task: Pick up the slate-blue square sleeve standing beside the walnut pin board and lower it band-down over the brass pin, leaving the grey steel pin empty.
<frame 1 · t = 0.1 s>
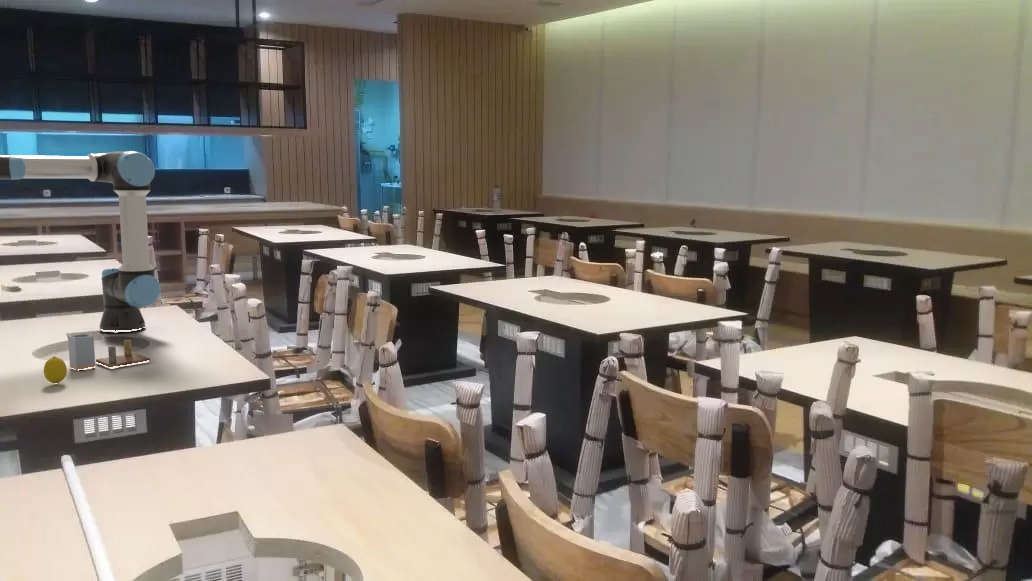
lemon: (56, 385, 225), on the table
pin board: (123, 363, 249), on the table
sleeve: (82, 368, 242), on the table
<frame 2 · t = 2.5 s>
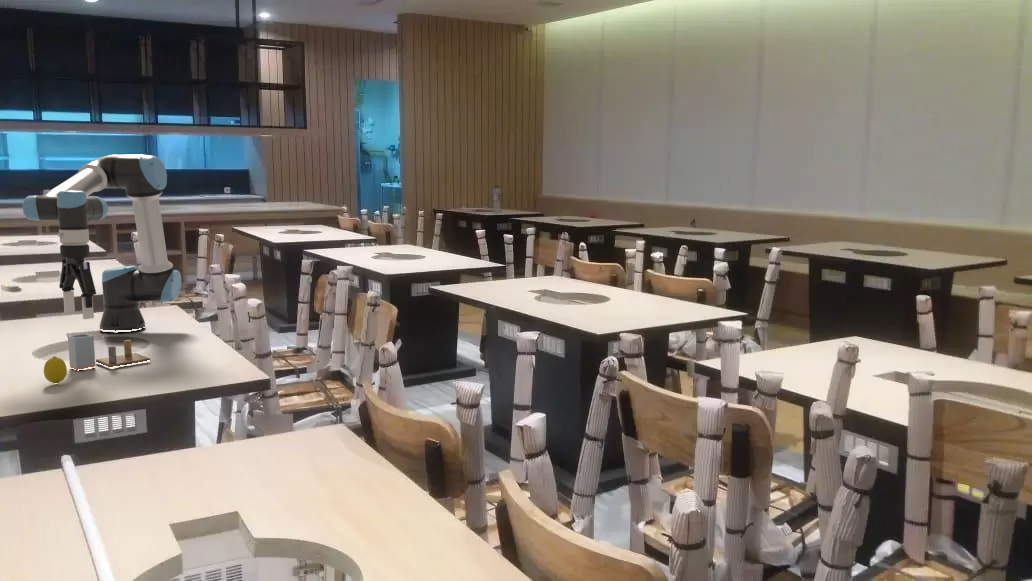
hand: (78, 315, 239), 16 cm above the table, tool pointing down, fingers open, 13 cm apart
nothing on the table moved.
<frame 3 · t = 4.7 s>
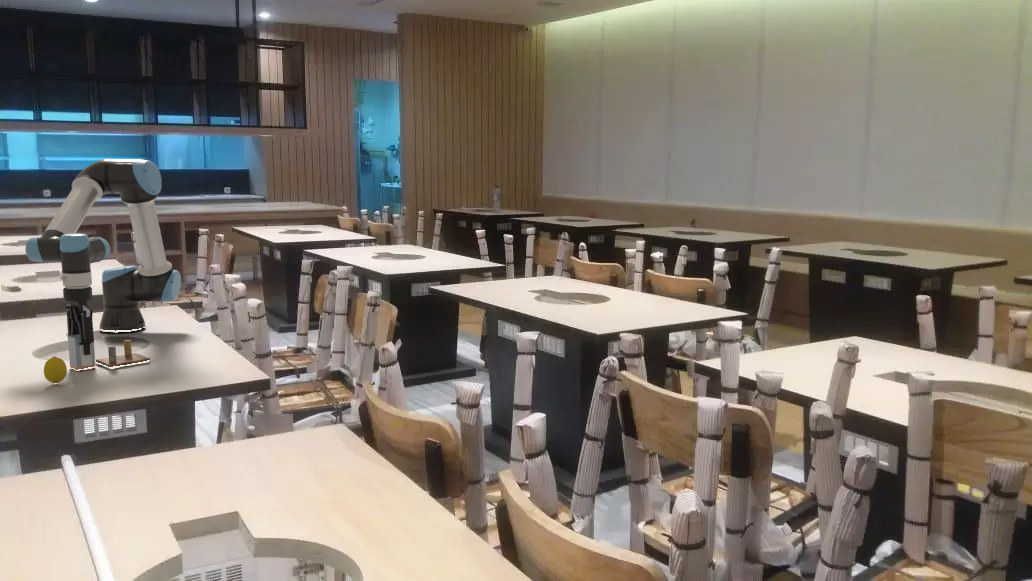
hand: (82, 363, 242), 2 cm above the table, tool pointing down, fingers closed on sleeve, 5 cm apart
sleeve: (82, 368, 242), on the table, touching gripper
everything else where it was.
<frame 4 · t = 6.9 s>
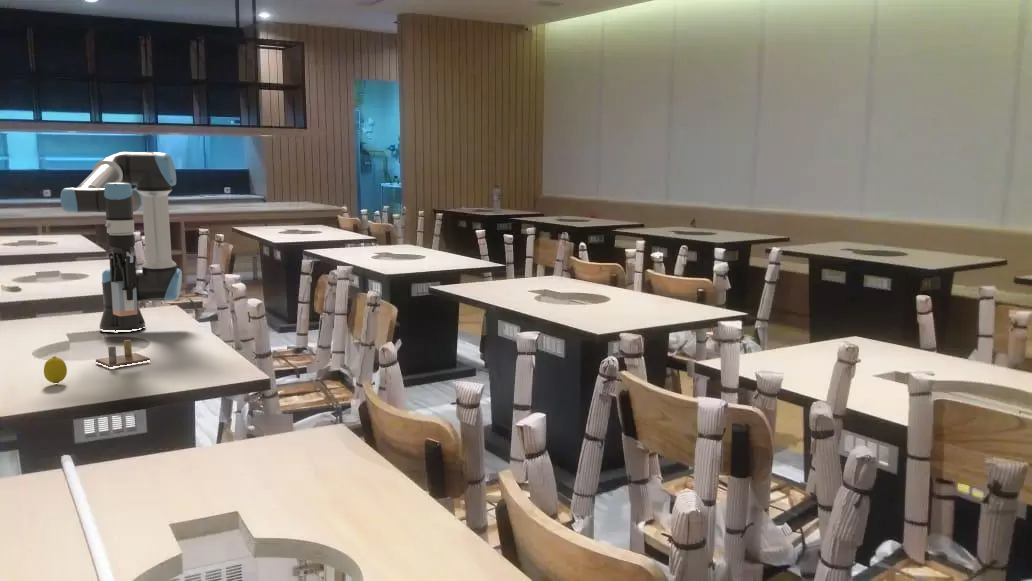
hand: (125, 309, 250), 16 cm above the table, tool pointing down, fingers closed on sleeve, 5 cm apart
sleeve: (125, 314, 250), point 15 cm above the table, touching gripper
everything else where it was.
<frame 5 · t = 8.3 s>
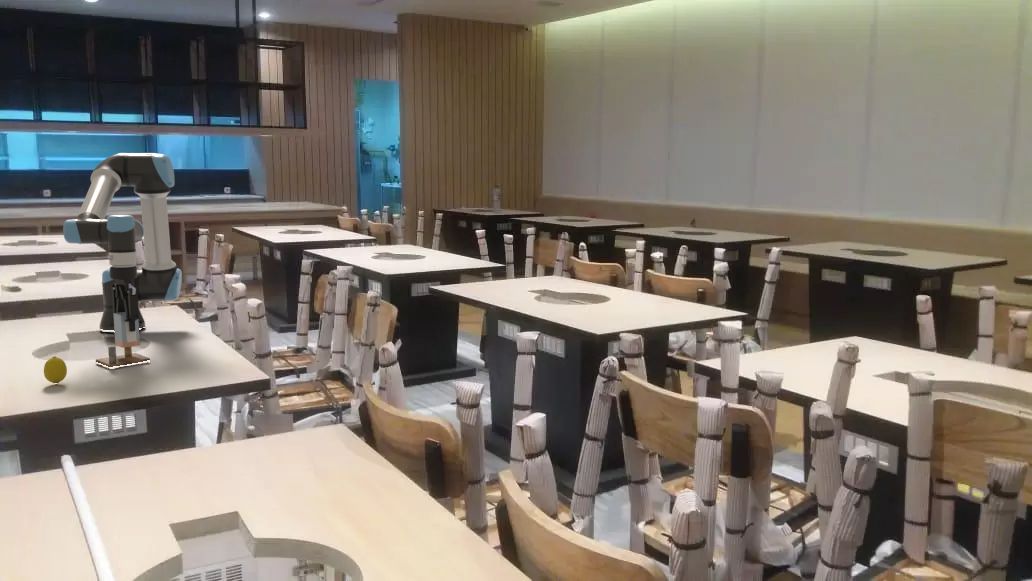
hand: (127, 340, 251), 7 cm above the table, tool pointing down, fingers closed on sleeve, 5 cm apart
sleeve: (127, 345, 251), point 5 cm above the table, touching gripper
everything else where it was.
when the fingers open (4 cm above the table, at t = 9.4 s): sleeve drops 1 cm, resting on pin board.
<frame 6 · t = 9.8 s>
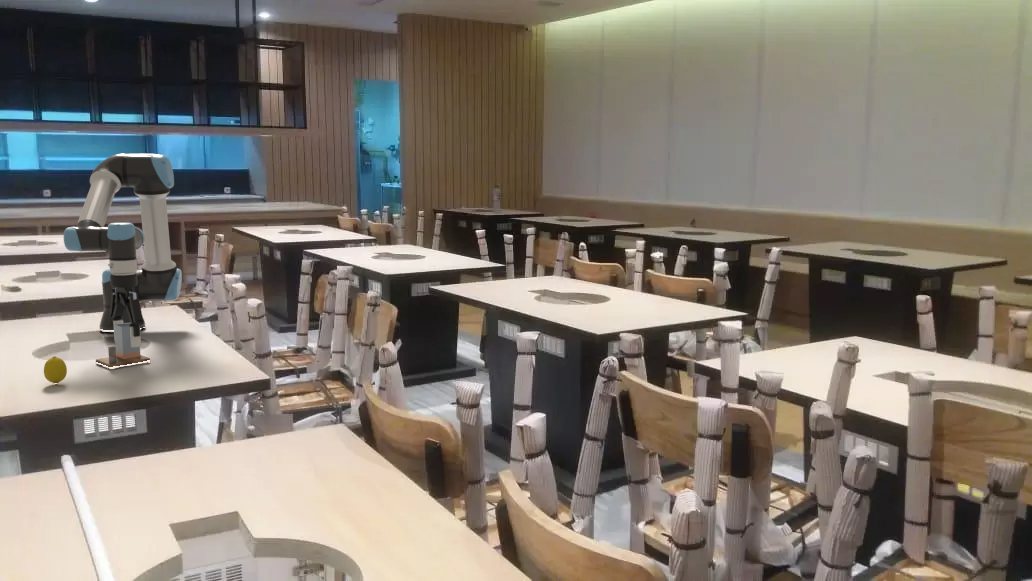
hand: (127, 343, 251), 5 cm above the table, tool pointing down, fingers open, 11 cm apart
sleeve: (128, 356, 252), point 1 cm above the table, touching pin board
everything else where it was.
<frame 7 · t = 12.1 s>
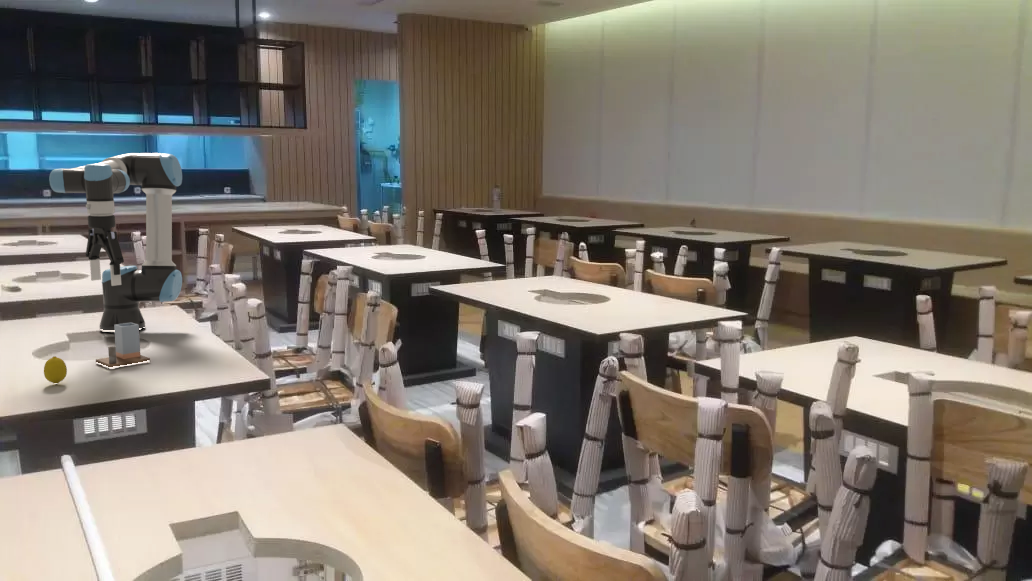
hand: (106, 282, 254), 24 cm above the table, tool pointing down, fingers open, 13 cm apart
nothing on the table moved.
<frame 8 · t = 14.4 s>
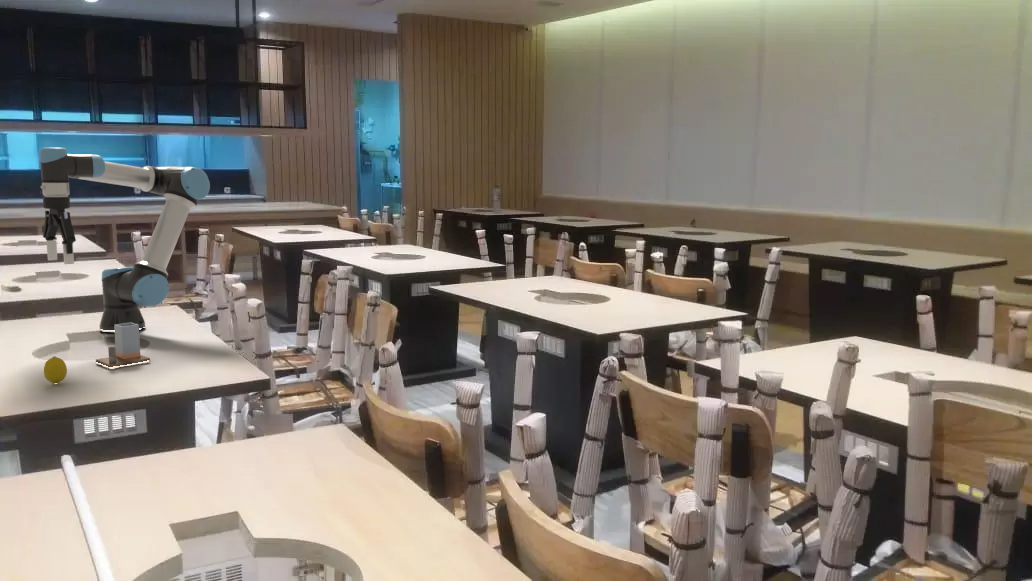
hand: (60, 262, 263), 29 cm above the table, tool pointing down, fingers open, 13 cm apart
nothing on the table moved.
at the end: sleeve 0.1 cm from the target spot, point 1.5 cm above the table; sleeve tilted 0°; the gripper is holding nothing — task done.
